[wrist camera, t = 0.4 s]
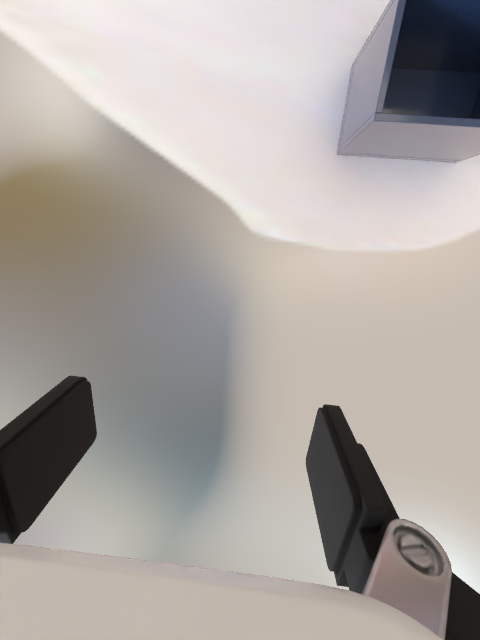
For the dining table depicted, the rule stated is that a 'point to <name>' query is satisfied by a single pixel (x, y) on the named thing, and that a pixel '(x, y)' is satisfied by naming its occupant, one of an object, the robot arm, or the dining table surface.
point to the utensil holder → (417, 84)
